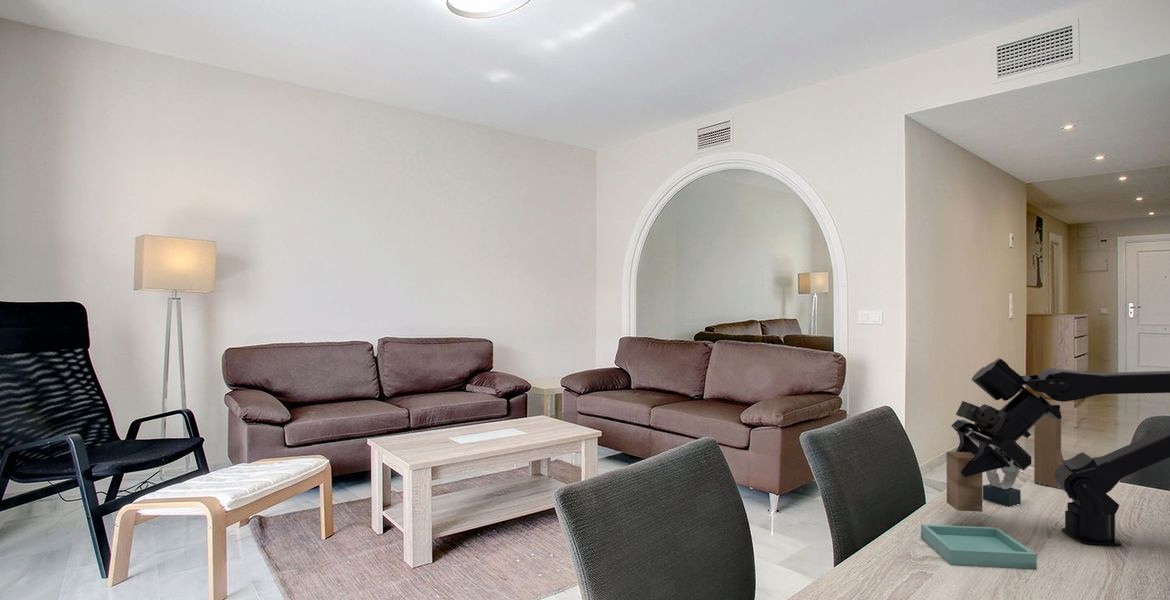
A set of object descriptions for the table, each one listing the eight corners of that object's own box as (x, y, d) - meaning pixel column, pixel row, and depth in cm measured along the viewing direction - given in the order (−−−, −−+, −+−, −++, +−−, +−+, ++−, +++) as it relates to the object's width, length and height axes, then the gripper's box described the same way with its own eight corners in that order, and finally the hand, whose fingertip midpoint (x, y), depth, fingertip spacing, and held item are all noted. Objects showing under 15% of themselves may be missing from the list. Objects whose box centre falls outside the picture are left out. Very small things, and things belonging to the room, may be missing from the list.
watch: (1025, 502, 130) (1025, 453, 130) (1003, 508, 127) (1003, 458, 127) (999, 495, 136) (999, 448, 136) (977, 500, 132) (977, 451, 132)
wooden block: (1085, 489, 140) (1085, 414, 140) (1081, 493, 137) (1080, 416, 137) (1038, 480, 147) (1038, 408, 147) (1033, 483, 144) (1033, 411, 144)
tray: (997, 540, 110) (997, 527, 110) (1036, 569, 99) (1036, 554, 99) (920, 537, 112) (920, 524, 112) (950, 564, 100) (950, 550, 100)
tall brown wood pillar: (970, 503, 119) (970, 452, 118) (982, 511, 114) (982, 458, 114) (946, 502, 119) (946, 451, 119) (957, 510, 115) (957, 457, 115)
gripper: (961, 382, 125) (906, 431, 127) (1013, 396, 107) (949, 454, 108) (1000, 419, 124) (945, 469, 126) (1060, 440, 106) (994, 498, 107)
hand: (956, 471), depth 117 cm, fingers closed on tall brown wood pillar, 4 cm apart
